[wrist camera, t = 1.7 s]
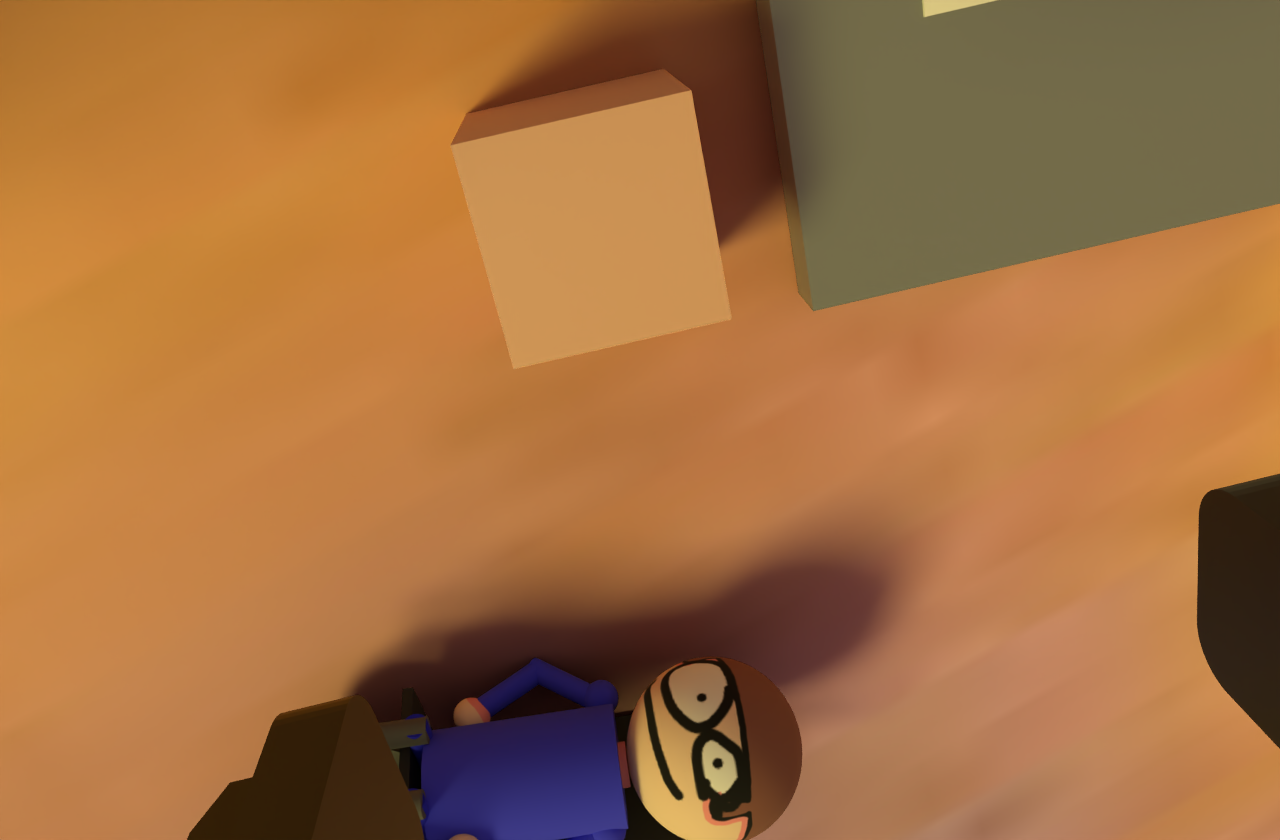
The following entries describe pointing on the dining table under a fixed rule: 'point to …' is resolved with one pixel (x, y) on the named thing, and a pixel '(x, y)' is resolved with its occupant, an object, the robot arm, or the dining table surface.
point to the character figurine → (606, 759)
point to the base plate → (1010, 129)
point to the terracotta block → (593, 216)
